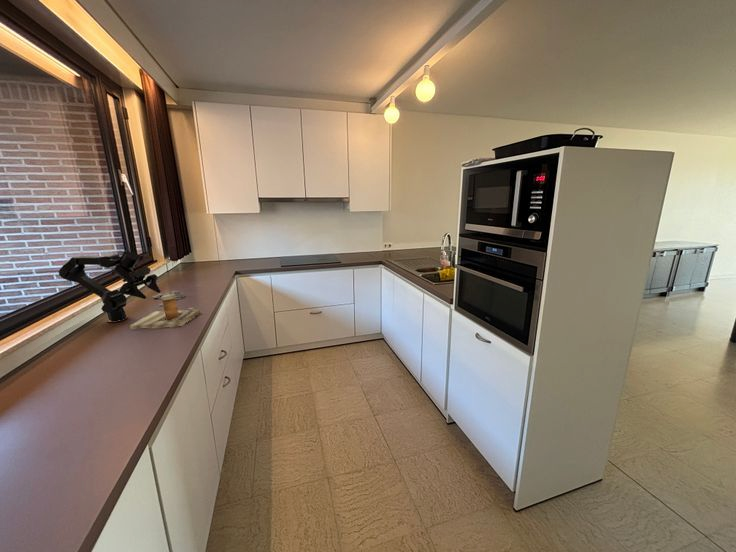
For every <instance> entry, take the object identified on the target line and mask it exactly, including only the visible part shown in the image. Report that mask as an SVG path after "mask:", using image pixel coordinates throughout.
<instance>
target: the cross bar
mask: <svg viewBox="0 0 736 552" xmlns="http://www.w3.org/2000/svg"><path fill="white" fill-rule="evenodd" d="M186 310H187V311H186V312H184V313H183V314H181V315H180V316H178V317H177V318H173V319H172V323H177V322H178V321H179V320H182V319H183V318H185V317H186V315H187V314H189V313H190V312H192V311H194V310H195V309H194V307H188V308H187V309H186Z"/></svg>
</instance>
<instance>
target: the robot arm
mask: <svg viewBox="0 0 736 552" xmlns="http://www.w3.org/2000/svg"><path fill="white" fill-rule="evenodd" d="M139 260H140V255H138V254H137V253H135V252H132V251H129V250H124V251H123V252H122V255H119V254H117V253H114V254H109V255H103V256H95V255H94V256H93V255H92V256H91V255H89V256H87V255H86V256H85V255H77V256H72V257H71V258H70V259H69V260H68V261H67V262H66V263H64V264H63V265H62V266H61V268H60V269H59V270H58V275H59V277H60V278H62V279H63V280H67V281H68V282H73V283H78V284H79V285H80V286H82V287H84V288H85V289H86V290H89V292H92V293H93V294H94V295H96V296H98V297H99V298H100V299H101V301H102V304H103V305H102V306H101V311H102V312H103V313H106V314H107V317H108V321H109V320H111V321H118V320H122V321H124V320H125V318H126V317H127V314H126V310H124V307H126V306H127V300H128V299H127V296H132V297H136V298H140V299H144V300H146V299H147V296H146V295H145V294H144V293H142V291H141V290H140V289H139V288H138V287H140V286H143V285H145V286H146V287H147V288H149V290H152V291H154V292H155V293H158V294H161V289H160V288H159V285H158V284H157V280H158V278H159V277H158V275H156V273H153V274H151V271H152V270H151V268H150V267H149V266H147V265H145V266H143V267H142V268H140V269H138V270H133V269H132V268H134V267H135V265H136V264H137V263H138V261H139ZM88 265H89V266H91V265H92V266H100V267H102V268H107V269H109V268H112V269H111V275H112V276H113V275H118V276H119V277H120V278H122V282H123V284H122V286H121V287H120V288H119V290H118V289H114V290H113V289H112V290H110V289H108V288H107V287H105V286H103V284H100V283H99V282H98V281H96V280H94V279H93V278H91V277H90V276H88V275H87V274H86V270H85V268H86V266H88ZM113 267H114V268H113ZM149 274H150V275H149ZM123 319H124V320H123ZM126 319H127V318H126Z"/></svg>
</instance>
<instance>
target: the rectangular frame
mask: <svg viewBox="0 0 736 552" xmlns="http://www.w3.org/2000/svg"><path fill="white" fill-rule="evenodd" d="M187 310H188V309H185V310H183V309H182V310H178V313H179V316H180V315H181V314H183V313H184V312H186V311H187ZM199 313H200V314H201V311H200V309H194V311H192V312H190V313H189V314H187V315H186V316H184V317H183V318H182V319H180V320H179V321H178V322H177V323H172V320H171V321H166V320H164V319H166V316H165V311H164V310H163V311H162V310H161V311H160V310H159V311H152V312H151V313H150V314H147V315H146V316H143V318H140V319H139V320H137V321H135V322H133V323H132V324H130V325H129V328H130V330H141V329H140V328H149V329H160V328H159V327H170V328H175V327H174V326H182V325H183V324H185V323H186V322H187V323H189V322H190V321H191V320H193V319H195V316H196V315H197V316H198V315H200V314H199ZM197 316H196V317H197ZM192 318H193V319H192ZM163 320H164V321H163ZM189 320H190V321H189ZM188 321H189V322H188ZM187 323H186V324H187ZM186 324H185V325H186ZM172 326H173V327H172ZM183 326H184V325H183ZM183 326H182V327H183ZM137 328H138V329H137Z"/></svg>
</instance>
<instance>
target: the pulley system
mask: <svg viewBox="0 0 736 552" xmlns="http://www.w3.org/2000/svg"><path fill="white" fill-rule="evenodd" d="M171 294H175V295H176V298H181V297H183V296H184V297H185V295H184V293H183V292H181V291H178V290H172V291H171ZM162 295H163V296H165V295H170V293H168V292H165V293H158V294H155V295H152V299H155V298H160V297H159V296H161V297H162ZM184 297H183V298H184ZM181 299H182V298H181ZM159 300H161V298H160V299H159ZM162 303H163V302H161V303H159V304H158V306H163V304H162Z"/></svg>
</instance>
